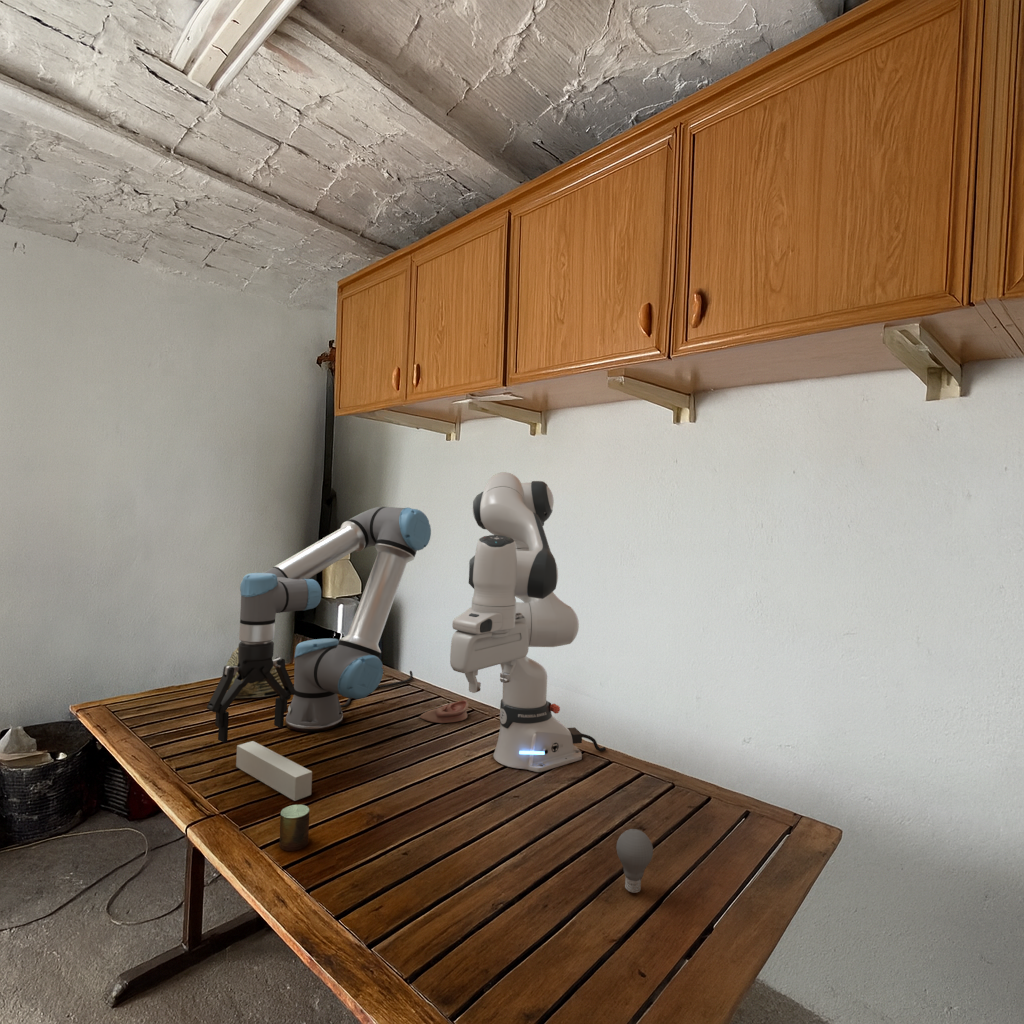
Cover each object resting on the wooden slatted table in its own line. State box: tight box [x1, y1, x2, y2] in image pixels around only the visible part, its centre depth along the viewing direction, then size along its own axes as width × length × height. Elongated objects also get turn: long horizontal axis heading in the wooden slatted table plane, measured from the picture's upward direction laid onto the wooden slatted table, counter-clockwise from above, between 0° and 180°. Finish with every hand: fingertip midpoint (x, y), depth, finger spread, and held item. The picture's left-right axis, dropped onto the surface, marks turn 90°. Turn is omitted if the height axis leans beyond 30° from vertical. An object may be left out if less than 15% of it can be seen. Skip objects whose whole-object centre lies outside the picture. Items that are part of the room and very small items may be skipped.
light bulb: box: [615, 828, 654, 894], centre depth 106 cm, size 6×6×10 cm
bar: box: [235, 740, 313, 802], centre depth 140 cm, size 4×24×5 cm, turn 51°
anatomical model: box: [419, 699, 469, 724], centre depth 185 cm, size 13×4×12 cm
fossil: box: [226, 647, 285, 699], centre depth 198 cm, size 9×18×15 cm, turn 132°
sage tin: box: [278, 804, 310, 852], centre depth 116 cm, size 5×5×6 cm
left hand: (251, 733), depth 145 cm, fingers open, 13 cm apart
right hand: (490, 686), depth 126 cm, fingers open, 8 cm apart
